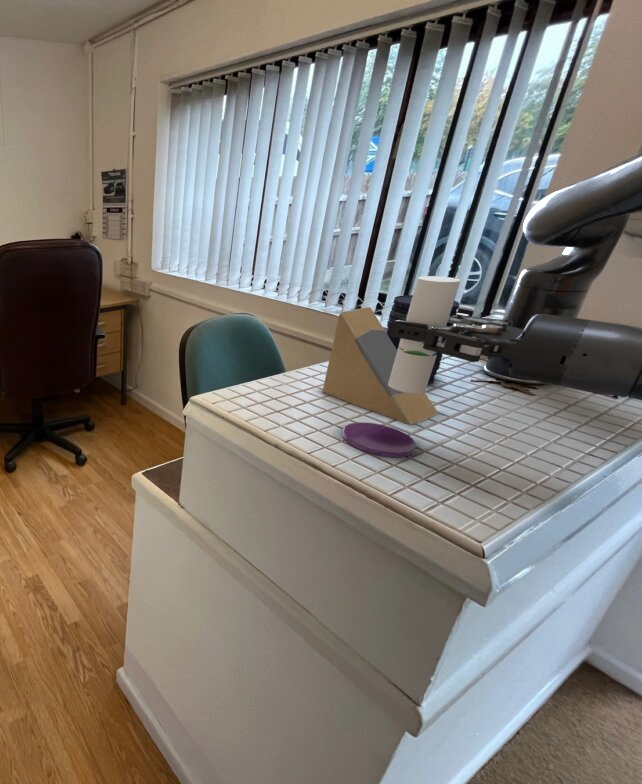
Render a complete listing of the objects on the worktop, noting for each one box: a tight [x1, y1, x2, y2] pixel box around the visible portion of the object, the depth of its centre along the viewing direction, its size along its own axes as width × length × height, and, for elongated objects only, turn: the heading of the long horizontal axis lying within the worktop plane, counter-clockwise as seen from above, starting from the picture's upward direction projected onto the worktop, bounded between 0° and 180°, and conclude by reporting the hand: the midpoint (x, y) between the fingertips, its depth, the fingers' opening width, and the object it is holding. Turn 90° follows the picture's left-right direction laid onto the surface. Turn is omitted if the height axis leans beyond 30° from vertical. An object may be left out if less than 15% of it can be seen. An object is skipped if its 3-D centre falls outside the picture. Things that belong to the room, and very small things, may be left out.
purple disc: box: [342, 422, 417, 458], centre depth 68 cm, size 9×9×1 cm
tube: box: [388, 275, 461, 393], centre depth 61 cm, size 4×4×15 cm
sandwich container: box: [322, 306, 440, 426], centre depth 77 cm, size 9×15×15 cm, turn 27°
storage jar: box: [386, 294, 460, 386], centre depth 87 cm, size 10×10×18 cm
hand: (400, 324), depth 63 cm, fingers closed on tube, 4 cm apart
